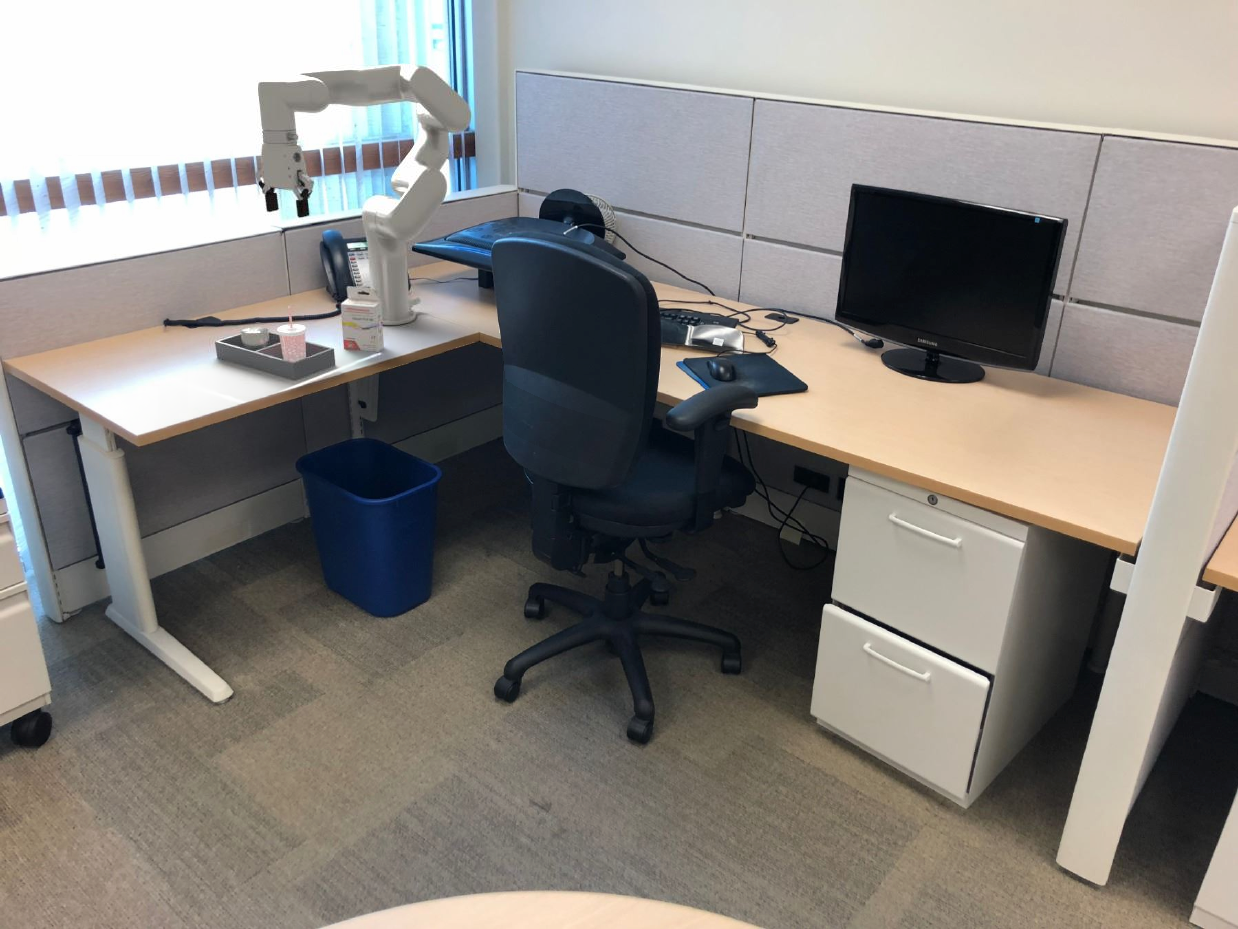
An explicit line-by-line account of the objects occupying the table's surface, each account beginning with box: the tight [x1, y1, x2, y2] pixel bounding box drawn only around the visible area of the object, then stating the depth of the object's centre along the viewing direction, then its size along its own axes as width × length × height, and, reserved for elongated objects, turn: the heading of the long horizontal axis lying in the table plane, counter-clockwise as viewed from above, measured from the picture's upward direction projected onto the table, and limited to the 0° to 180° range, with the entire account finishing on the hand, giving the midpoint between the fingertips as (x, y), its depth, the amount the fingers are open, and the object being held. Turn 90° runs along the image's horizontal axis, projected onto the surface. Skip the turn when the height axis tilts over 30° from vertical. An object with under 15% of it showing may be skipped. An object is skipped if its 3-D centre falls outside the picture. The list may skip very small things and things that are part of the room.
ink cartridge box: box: [340, 285, 385, 354], centre depth 236 cm, size 9×5×15 cm, turn 84°
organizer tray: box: [214, 330, 336, 381], centre depth 227 cm, size 12×25×4 cm, turn 60°
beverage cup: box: [276, 305, 307, 362], centre depth 222 cm, size 6×6×14 cm
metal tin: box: [240, 326, 270, 351], centre depth 229 cm, size 6×6×6 cm
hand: (288, 213), depth 232 cm, fingers open, 9 cm apart
